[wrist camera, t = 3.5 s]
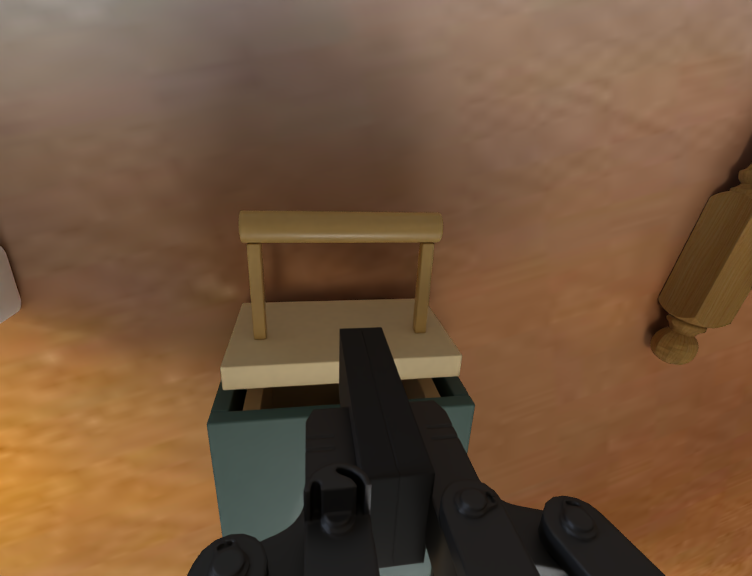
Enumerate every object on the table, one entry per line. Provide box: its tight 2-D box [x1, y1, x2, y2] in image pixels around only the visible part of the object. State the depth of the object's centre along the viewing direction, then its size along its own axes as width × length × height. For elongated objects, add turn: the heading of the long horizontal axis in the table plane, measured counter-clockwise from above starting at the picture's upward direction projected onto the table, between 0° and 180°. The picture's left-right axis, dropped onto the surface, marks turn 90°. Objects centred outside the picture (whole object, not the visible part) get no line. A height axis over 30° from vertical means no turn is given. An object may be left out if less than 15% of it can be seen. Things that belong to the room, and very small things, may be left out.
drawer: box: [220, 210, 462, 411], centre depth 23 cm, size 20×11×7 cm, turn 178°
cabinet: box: [207, 376, 475, 576], centre depth 25 cm, size 15×12×9 cm
